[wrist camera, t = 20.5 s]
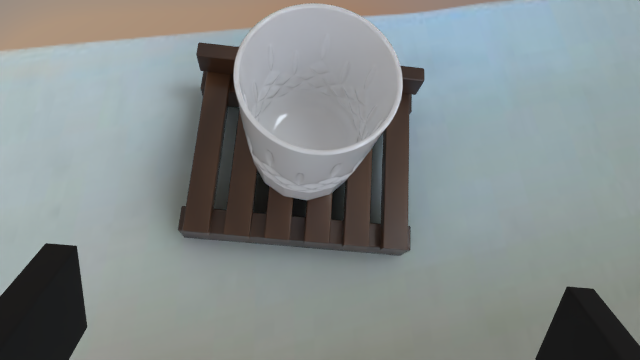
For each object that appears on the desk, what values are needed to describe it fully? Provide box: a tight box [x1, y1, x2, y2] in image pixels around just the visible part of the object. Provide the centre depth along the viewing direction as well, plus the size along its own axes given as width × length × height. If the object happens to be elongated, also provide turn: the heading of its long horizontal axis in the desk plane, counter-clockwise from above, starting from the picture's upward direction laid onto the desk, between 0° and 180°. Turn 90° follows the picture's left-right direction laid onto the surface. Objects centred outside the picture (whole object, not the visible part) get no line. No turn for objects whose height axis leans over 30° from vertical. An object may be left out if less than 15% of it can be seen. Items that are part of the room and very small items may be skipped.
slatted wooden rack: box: [178, 43, 424, 255], centre depth 32 cm, size 15×12×5 cm
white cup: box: [233, 3, 403, 200], centre depth 27 cm, size 8×8×10 cm
